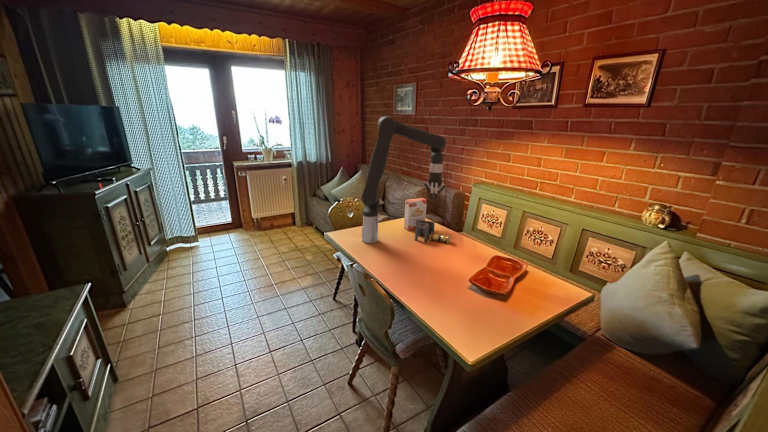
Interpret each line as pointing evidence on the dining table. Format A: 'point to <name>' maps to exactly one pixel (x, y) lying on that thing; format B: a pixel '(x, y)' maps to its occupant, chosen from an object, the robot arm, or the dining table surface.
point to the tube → (439, 237)
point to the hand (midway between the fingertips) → (433, 199)
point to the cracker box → (414, 212)
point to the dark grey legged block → (424, 229)
